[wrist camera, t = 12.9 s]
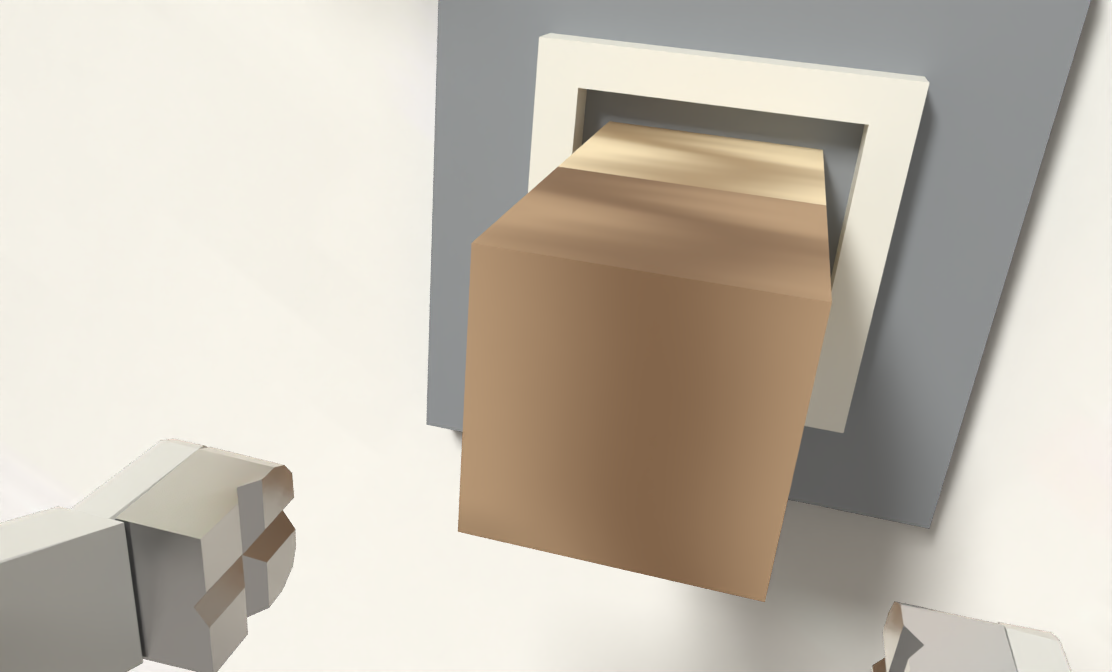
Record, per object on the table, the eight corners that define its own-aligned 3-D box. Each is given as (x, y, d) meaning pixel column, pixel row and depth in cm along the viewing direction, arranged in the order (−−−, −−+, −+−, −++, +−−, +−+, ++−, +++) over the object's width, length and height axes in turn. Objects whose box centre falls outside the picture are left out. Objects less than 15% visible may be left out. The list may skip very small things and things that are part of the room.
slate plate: (441, 405, 28) (413, 440, 26) (459, -107, 22) (425, -112, 20) (924, 503, 25) (933, 551, 23) (1090, -52, 19) (1121, -51, 17)
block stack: (588, 313, 24) (458, 531, 15) (609, 121, 22) (471, 243, 13) (782, 346, 23) (765, 601, 14) (822, 149, 21) (832, 301, 12)
